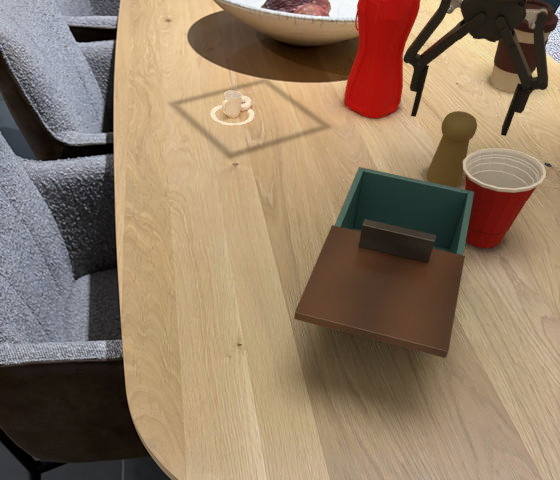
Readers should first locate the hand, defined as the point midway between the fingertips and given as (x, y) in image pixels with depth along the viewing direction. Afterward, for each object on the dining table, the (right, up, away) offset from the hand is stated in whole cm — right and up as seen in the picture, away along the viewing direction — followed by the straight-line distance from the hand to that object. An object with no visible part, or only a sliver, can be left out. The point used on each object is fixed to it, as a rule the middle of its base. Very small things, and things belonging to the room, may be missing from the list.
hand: (458, 122), depth 91 cm
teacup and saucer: (-33, +8, +17) cm, 38 cm away
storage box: (-12, -24, -8) cm, 28 cm away
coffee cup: (+19, +20, +32) cm, 42 cm away
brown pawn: (0, -7, +8) cm, 10 cm away
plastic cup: (+2, -18, -2) cm, 18 cm away
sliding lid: (-16, -29, -26) cm, 42 cm away
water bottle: (-11, +12, +23) cm, 28 cm away
